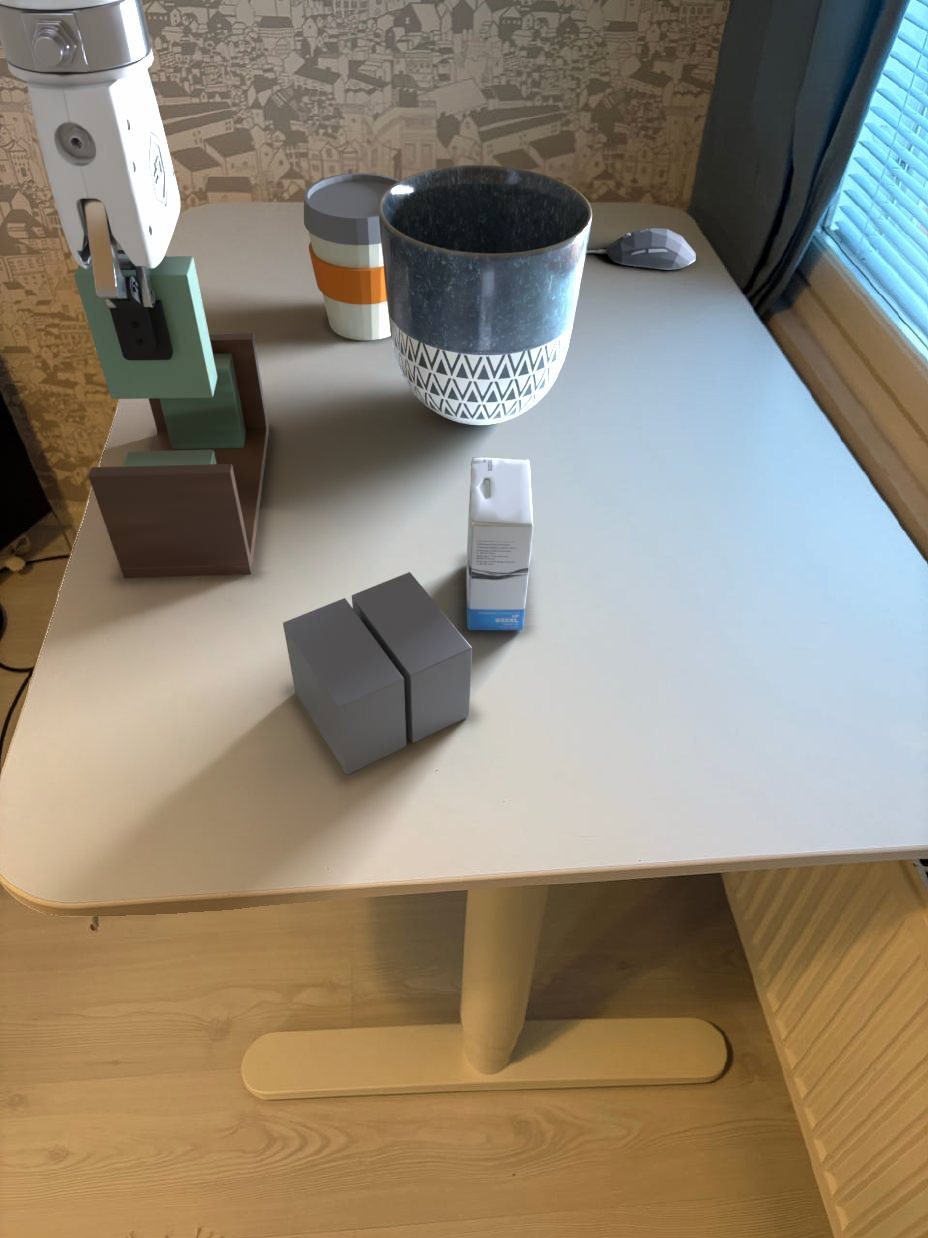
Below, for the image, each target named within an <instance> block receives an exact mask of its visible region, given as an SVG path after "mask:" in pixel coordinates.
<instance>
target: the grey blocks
mask: <svg viewBox="0 0 928 1238" xmlns="http://www.w3.org/2000/svg"><path fill="white" fill-rule="evenodd" d="M351 604H352V605H351ZM351 604H350V603H349V601H348V600H347V599H346V598H345V597H344V598H341V599H339V600H336V601H333V602H331V603H329V604H326V605H324V606H321V607H318V608H316V609H314V610H311V611H308V612H306V613H303V614H300V615H299V616H296V617H293V618H290V619H288V620H287V621H283V622H282V626H283V632H284V637H285V643H286V649H287V653H288V659H289V665H290V670H291V677H292V682H293V688H294V693H295V694H296V696H297V697H298V699H299V700H300V702H301V704H302V706H303V707H304V709H305V710H306V712H307V714H308V715H309V717H310V718H311V720H312V722H313V723H314V725H315V727H316V728H317V730H318V731H319V733H320V734H321V736H322V738H323V739H324V741H325V743H326V744H327V746H328V748H329V749H330V751H331V753H332V754H333V755H334V757H335V759H336V761H337V762H338V764H339V766H340V767H341V769H342V770H343V771H344V774H345V775H346V776H348V775H350V774H352V773H355V772H356V771H359V770H360V769H363V768H365V767H367V766H369V765H371V764H373V763H375V762H377V761H380V760H381V759H384V758H386V757H387V756H390V755H392V754H394V753H396V752H398V751H400V750H402V749H404V748H406V747H407V737H408V739H409V740H410V742H411V743H412V744H414V743H416V742H418V741H421V740H423V739H425V738H427V737H429V736H432V735H433V734H435V733H438V732H439V731H442V730H443V729H445V728H448V727H449V726H452V725H454V724H456V723H458V722H460V721H462V720H464V719H466V718H468V717H469V716H470V704H471V703H470V702H471V701H470V700H471V681H472V680H471V679H472V661H473V660H472V659H473V658H472V657H473V647H472V646H471V645H470V643H468V641H467V640H466V639H465V637H464V636H463V635H462V634H461V633H460V632H459V630H458V629H457V627H456V626H455V625H454V623H452V621H451V620H450V619H449V618H448V617H447V615H446V614H445V613H444V611H442V609H441V608H440V607H439V606H438V604H437V603H436V602H435V600H434V599H433V598H432V597H431V596H430V594H429V593H428V592H427V591H426V590H425V588H424V587H423V586H422V585H421V584H420V582H419V580H417V579H416V577H415V576H414V575H413V573H411V571H408V572H405V573H403V574H401V575H399V576H395V577H393V578H391V579H389V580H386V581H384V582H381V583H378V584H376V585H373V586H371V587H368V588H366V589H363V590H361V591H359V592H356V593H354V594H351Z"/></svg>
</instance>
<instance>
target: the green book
mask: <svg viewBox="0 0 928 1238" xmlns="http://www.w3.org/2000/svg"><path fill="white" fill-rule="evenodd" d="M120 271H121V274H122V276H123V277H130V276H132V277H133V278H134V279H135V280H136V281H137V277H136V272H135V270H120ZM149 272H150V277H151V281H152V286H153V290H154V295H155V300H161V302H162V306H163V310H164V314H165V319H166V323H167V327H168V331H169V335H170V340H171V344H172V348H173V355H172V358H171V359H169V360H131V361H130V360H126V359H125V358H124V357H123V354H122V351H121V347H120V344H119V340H118V337H117V333H116V330H115V326H114V323H113V319H112V316H111V312H110V309H109V308H108V306H107V303H106V299H99V298H98V296H97V294H96V288H95V281H94V274H93V267H92V266H91V267H90V268H89V269H85V268H83V267H81V266H80V265H79V264H78V266H77V269H76V271H75V272H74V274H73V279H74V281H75V285H76V288H77V291H78V295H79V298H80V301H81V305H82V308H83V310H84V315H85V317H86V321H87V324H88V327H89V330H90V335H91V337H92V340H93V344H94V347H95V350H96V353H97V357H98V360H99V364H100V367H101V369H102V370H101V371H102V373H103V377H104V380H105V382H106V386H107V389H108V393H109V395H110V399H111V400H145V399H146V400H147V399H148V400H149V399H152V398H212V397H213V395H214V390H215V386H216V381H217V373H216V368H215V363H214V358H213V353H212V348H211V343H210V338H209V334H210V333H209V329H208V323H207V319H206V314H205V309H204V303H203V298H202V294H201V289H200V284H199V278H198V273H197V269H196V264H195V259H194V256H192V255H190V256H187V255H186V256H181V255H180V256H177V255H176V256H175V255H173V256H166V257H163V259H162V261H161V262H160V263H159V265H158V266H156V267H155V268H153V269H149ZM137 282H138V281H137Z"/></svg>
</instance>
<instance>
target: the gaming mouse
mask: <svg viewBox="0 0 928 1238" xmlns="http://www.w3.org/2000/svg"><path fill="white" fill-rule="evenodd" d="M586 254H597V255H607V256H608V257H609V258H610V259H611V260H612V261H613V263H614V262H615V263H617V264H620V265H623V266H633V267H639V268H648V269H656V270H665V271H666V270H667V271H670V270H679V269H683V268H686V267H687V266H689V265H692V264H693V263H694V262H695V261H696V259H697V257H696V256H697V255H696V254H697V253H696V252H695V250H694V249H693V248H692V247H691V246H690V244H688V242H687V241H686V240H685V238H684V237H683V236H682V235H681V234H679V233H677V232H675V231H672V230H670V229H668V228H657V227H650V228H646V229H641V230H635V231H631V232H626V233H624V234H623V236H621V237H619V238H618V239H616V240H614V241H613V242H610V243H609V244H608V245H607V246H606V249H603V248H601V249H600V248H599V249H596V250H592V249H591V250H588V249H587V251H586Z"/></svg>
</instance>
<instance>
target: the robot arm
mask: <svg viewBox="0 0 928 1238" xmlns="http://www.w3.org/2000/svg"><path fill="white" fill-rule="evenodd" d="M0 43H1V47H2V51H3V54H4V57H5V61H6V64H7V67H8V71H9V73H10V74H11V75H13V76H14V77H16V78H18V79H20V80H22V81H24V82H26V86H27V91H28V97H29V101H30V106H31V111H32V116H33V119H34V125H35V128H36V133H37V137H38V143H39V146H40V150H41V155H42V158H43V162H44V166H45V170H46V174H47V178H48V182H49V185H50V189H51V193H52V197H53V201H54V204H55V208H56V212H57V214H58V218H59V222H60V225H61V228H62V231H63V234H64V237H65V240H66V243H67V246H68V248H69V252H70V253H71V256H72V258H73V260H74V262H75V263H76V264H78V266H79V265H80V266H81V267H83V268H85V269H89V268H90V267H91V266H92V267H93V274H94V281H95V288H96V294H97V296H98V298H99V299H106V303H107V306H108V308H109V309H110V312H111V316H112V319H113V323H114V326H115V330H116V333H117V337H118V340H119V344H120V347H121V351H122V354H123V357H124V358H125V359H126V360H130V361H131V360H169V359H171V358H172V355H173V348H172V344H171V340H170V335H169V331H168V327H167V323H166V319H165V314H164V310H163V306H162V302H161V300H155V295H154V290H153V286H152V281H151V277H150V272H149V269H153V268H155V267H156V266H158V265H159V263H160V262H161V261H162V259H163V257H167V256H166V252H167V250H168V247H169V245H170V242H171V239H172V237H173V234H174V232H175V228H176V226H177V222H178V219H179V215H180V212H181V198H180V197H181V196H180V191H179V186H178V183H177V178H176V175H175V169H174V166H173V162H172V158H171V153H170V150H169V146H168V141H167V138H166V137H167V136H166V134H165V129H164V125H163V122H162V117H161V114H160V110H159V106H158V102H157V99H156V94H155V91H154V88H153V85H152V80H151V77H150V74H149V70H148V69H149V68H150V67H151V66H152V65H153V62H154V59H155V58H154V53H153V49H152V44H151V39H150V34H149V28H148V24H147V19H146V14H145V8H144V4H143V0H0ZM120 270H135V272H136V277H137V281H138V282H137V281H136V280H135V279H134V278H133V277H132V276H130V277H123V276H122V274H121V271H120Z"/></svg>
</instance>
